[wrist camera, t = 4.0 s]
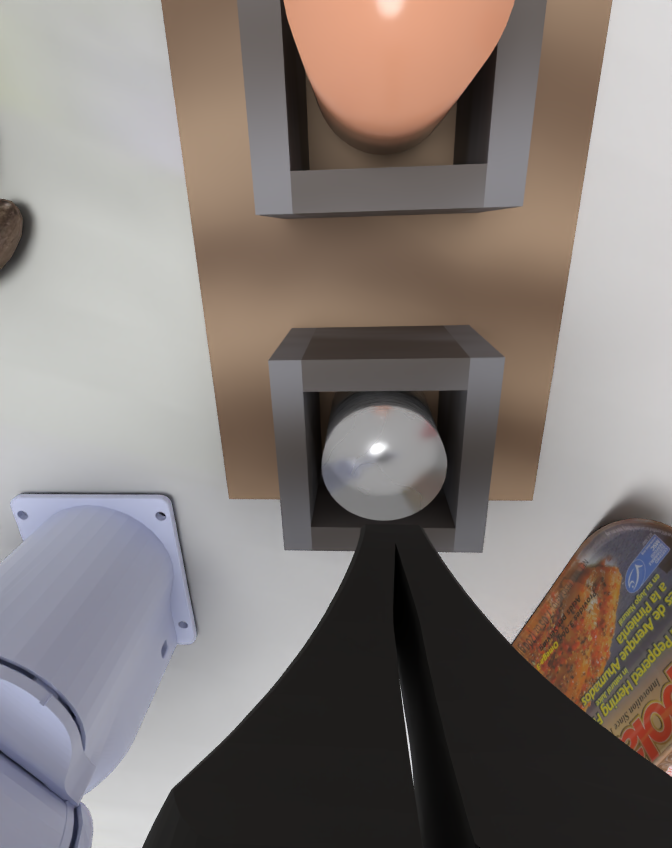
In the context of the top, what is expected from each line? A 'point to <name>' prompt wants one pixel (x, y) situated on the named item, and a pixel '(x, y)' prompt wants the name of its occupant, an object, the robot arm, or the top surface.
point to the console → (382, 256)
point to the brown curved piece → (9, 230)
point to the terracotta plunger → (392, 62)
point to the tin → (613, 634)
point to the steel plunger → (383, 453)
